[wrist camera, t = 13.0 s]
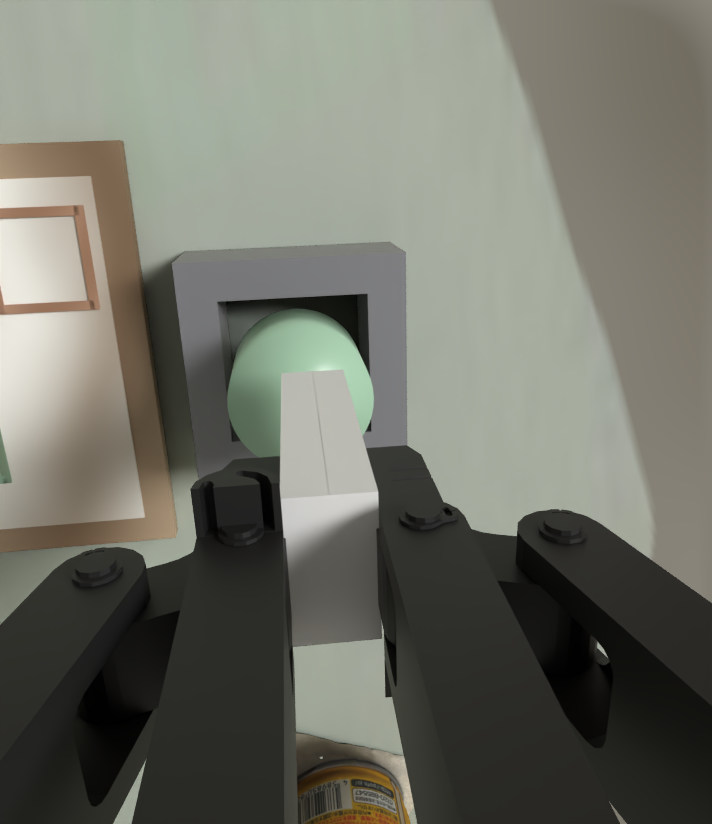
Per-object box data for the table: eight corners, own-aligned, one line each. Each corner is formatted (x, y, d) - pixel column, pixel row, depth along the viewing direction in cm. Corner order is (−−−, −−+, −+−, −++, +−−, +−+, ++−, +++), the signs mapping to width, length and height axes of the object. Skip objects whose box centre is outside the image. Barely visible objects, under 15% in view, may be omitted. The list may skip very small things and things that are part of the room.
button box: (207, 443, 25) (198, 478, 22) (184, 251, 23) (172, 263, 20) (392, 430, 26) (407, 461, 23) (390, 242, 23) (405, 252, 21)
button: (239, 434, 22) (234, 474, 19) (227, 312, 20) (220, 335, 18) (363, 426, 22) (375, 463, 19) (358, 305, 21) (372, 326, 18)
